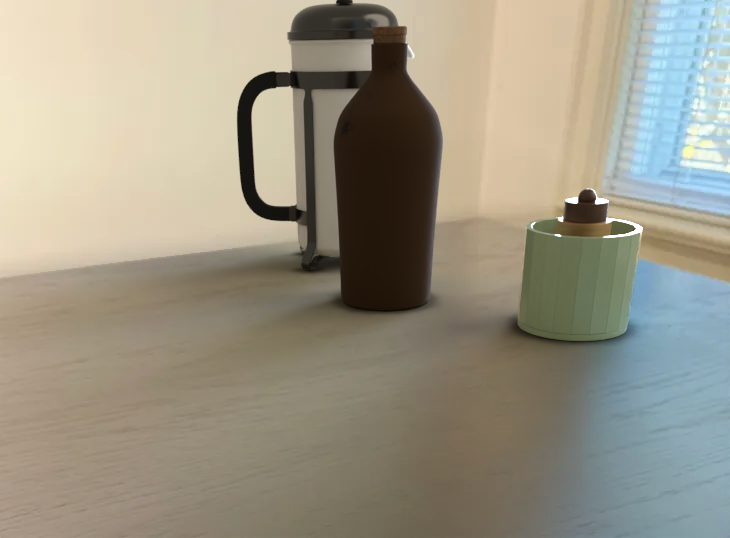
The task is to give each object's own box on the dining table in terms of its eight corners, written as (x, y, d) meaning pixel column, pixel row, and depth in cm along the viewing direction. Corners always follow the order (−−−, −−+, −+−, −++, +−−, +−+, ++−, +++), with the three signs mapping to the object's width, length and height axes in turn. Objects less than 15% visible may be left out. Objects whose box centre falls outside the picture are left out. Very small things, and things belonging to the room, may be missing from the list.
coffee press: (342, 242, 120) (340, -19, 105) (431, 259, 110) (442, -28, 95) (241, 263, 110) (223, -22, 95) (328, 284, 100) (323, -32, 85)
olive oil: (413, 317, 88) (422, 25, 75) (318, 306, 92) (312, 27, 79) (450, 292, 96) (463, 25, 83) (360, 283, 100) (361, 27, 88)
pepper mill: (594, 312, 86) (611, 184, 80) (602, 326, 82) (621, 192, 76) (544, 311, 86) (557, 184, 81) (549, 325, 82) (563, 193, 76)
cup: (616, 311, 88) (630, 216, 84) (636, 342, 79) (653, 237, 75) (513, 310, 89) (521, 216, 85) (522, 340, 80) (531, 237, 76)
